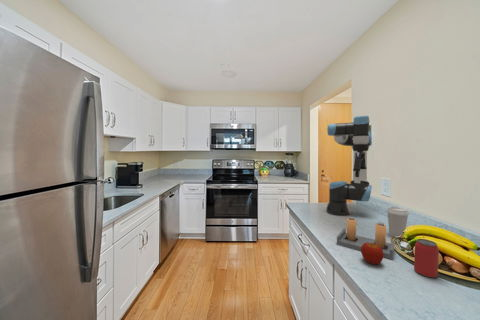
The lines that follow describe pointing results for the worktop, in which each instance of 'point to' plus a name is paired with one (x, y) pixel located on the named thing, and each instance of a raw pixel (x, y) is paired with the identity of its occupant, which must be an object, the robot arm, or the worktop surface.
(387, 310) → the worktop surface
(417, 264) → the beer can
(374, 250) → the apple
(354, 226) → the peg
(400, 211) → the coffee cup
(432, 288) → the worktop surface
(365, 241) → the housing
